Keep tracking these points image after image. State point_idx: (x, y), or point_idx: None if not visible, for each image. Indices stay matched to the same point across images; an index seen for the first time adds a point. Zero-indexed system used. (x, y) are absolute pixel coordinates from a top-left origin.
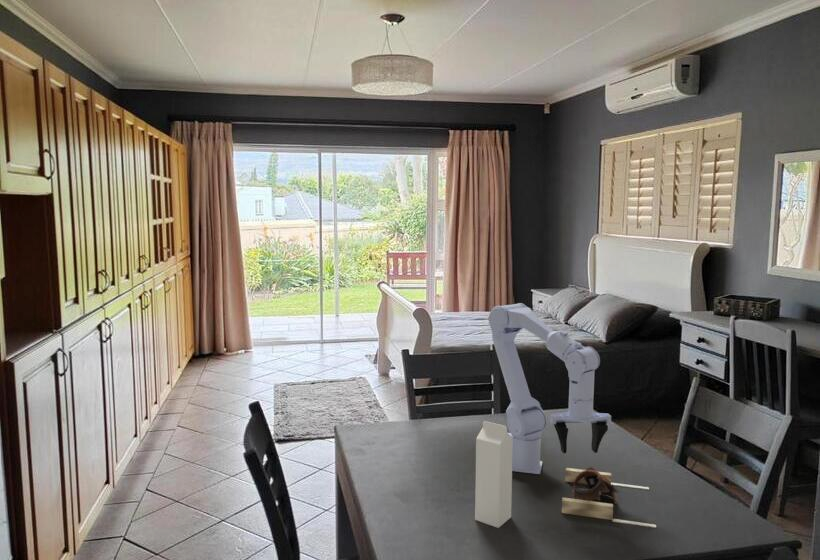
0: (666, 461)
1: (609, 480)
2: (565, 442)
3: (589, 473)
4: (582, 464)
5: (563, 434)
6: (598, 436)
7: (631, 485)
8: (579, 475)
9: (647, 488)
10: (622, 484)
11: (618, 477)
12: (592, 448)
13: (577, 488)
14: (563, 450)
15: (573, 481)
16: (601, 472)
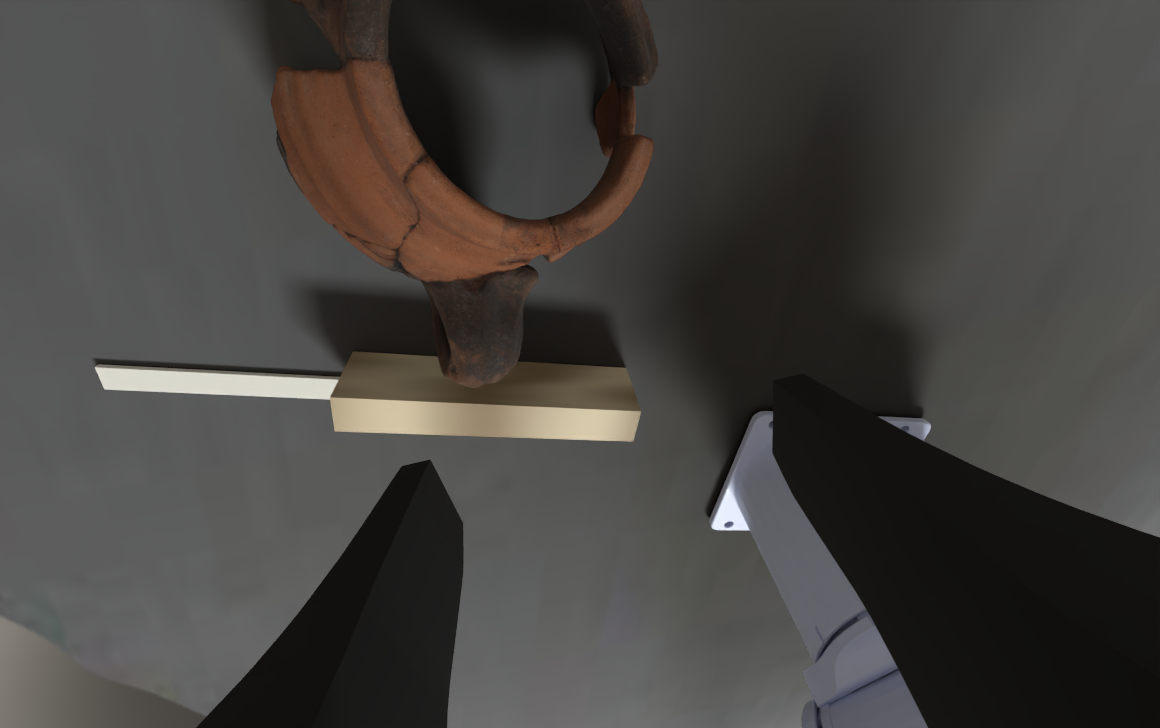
0: (104, 654)
1: (352, 375)
2: (894, 458)
3: (497, 212)
4: (512, 550)
5: (1113, 560)
6: (311, 682)
7: (222, 390)
8: (595, 200)
9: (108, 372)
10: (281, 392)
11: (319, 470)
12: (453, 526)
13: (624, 15)
14: (829, 390)
15: (648, 143)
16: (403, 427)
